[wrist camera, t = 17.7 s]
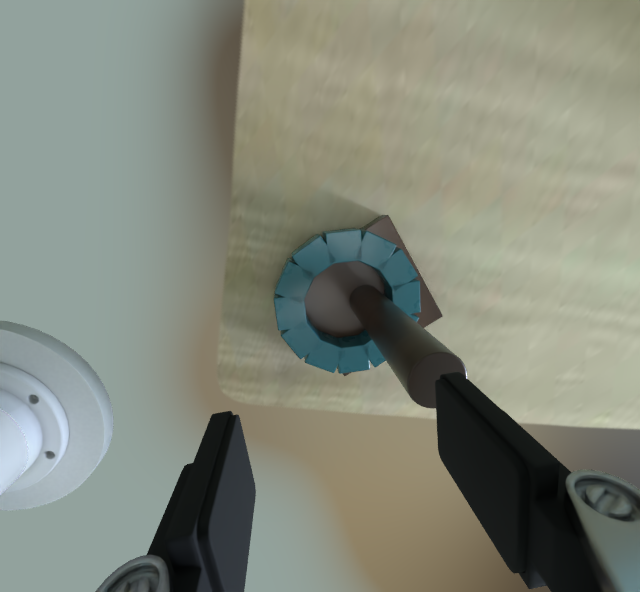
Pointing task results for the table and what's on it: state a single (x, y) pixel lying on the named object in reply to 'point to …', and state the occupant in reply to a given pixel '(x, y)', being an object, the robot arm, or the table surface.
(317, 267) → the ring
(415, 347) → the stand
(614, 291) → the table surface
